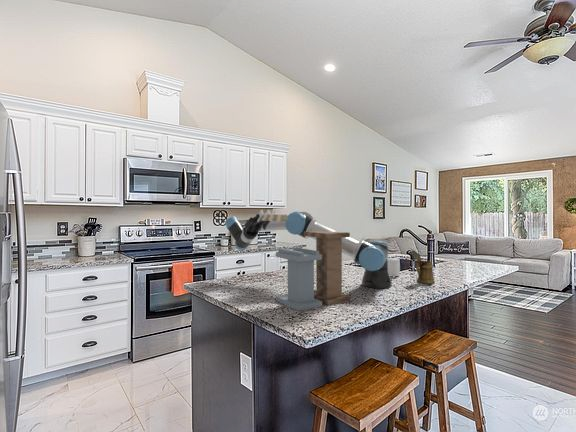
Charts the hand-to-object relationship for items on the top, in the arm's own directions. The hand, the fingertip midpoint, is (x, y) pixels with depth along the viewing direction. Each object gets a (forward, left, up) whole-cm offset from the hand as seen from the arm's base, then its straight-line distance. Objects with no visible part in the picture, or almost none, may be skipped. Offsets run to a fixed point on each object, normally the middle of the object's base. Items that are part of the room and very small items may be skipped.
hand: (266, 212), depth 166 cm
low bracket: (-15, +24, -39) cm, 48 cm away
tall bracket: (-28, +16, -39) cm, 51 cm away
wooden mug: (-85, -16, -39) cm, 95 cm away
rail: (-3, +5, -4) cm, 7 cm away
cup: (-73, -35, -39) cm, 90 cm away
